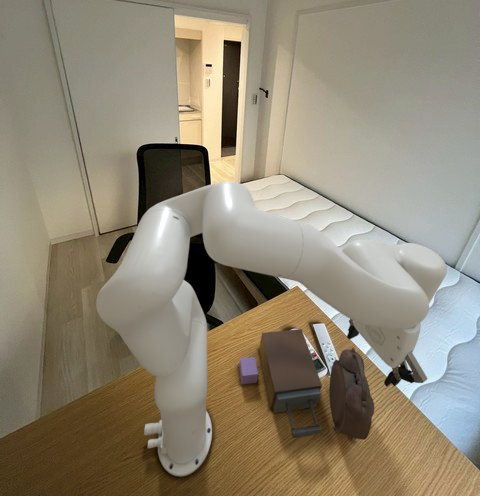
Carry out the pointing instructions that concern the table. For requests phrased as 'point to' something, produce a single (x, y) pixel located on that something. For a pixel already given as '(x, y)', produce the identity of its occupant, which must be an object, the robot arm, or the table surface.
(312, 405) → the tray
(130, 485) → the table surface
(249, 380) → the purple cube
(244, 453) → the table surface
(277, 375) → the brown drawer cabinet
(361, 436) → the brown beanbag pouch
